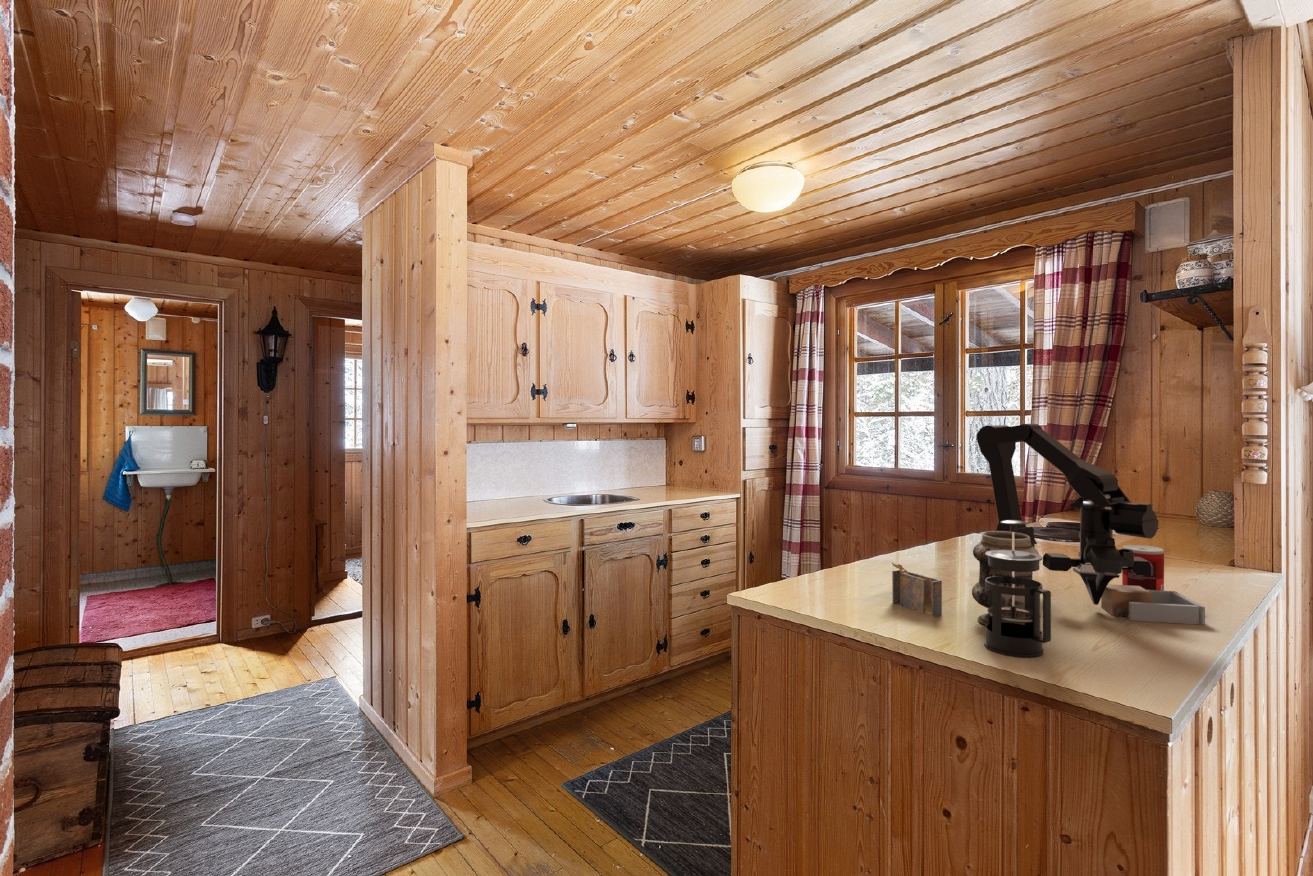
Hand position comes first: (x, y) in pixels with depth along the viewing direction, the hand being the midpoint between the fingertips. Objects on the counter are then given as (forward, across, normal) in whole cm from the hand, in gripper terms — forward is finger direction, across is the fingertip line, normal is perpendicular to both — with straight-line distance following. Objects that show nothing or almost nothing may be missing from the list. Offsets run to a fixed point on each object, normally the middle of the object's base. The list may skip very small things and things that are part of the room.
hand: (1095, 604), depth 138 cm
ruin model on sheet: (+2, -36, -7) cm, 37 cm away
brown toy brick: (+1, +6, 0) cm, 6 cm away
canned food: (+1, +14, +15) cm, 21 cm away
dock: (+1, +10, 0) cm, 10 cm away
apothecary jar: (+2, -20, -14) cm, 24 cm away
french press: (+2, -21, -29) cm, 36 cm away
